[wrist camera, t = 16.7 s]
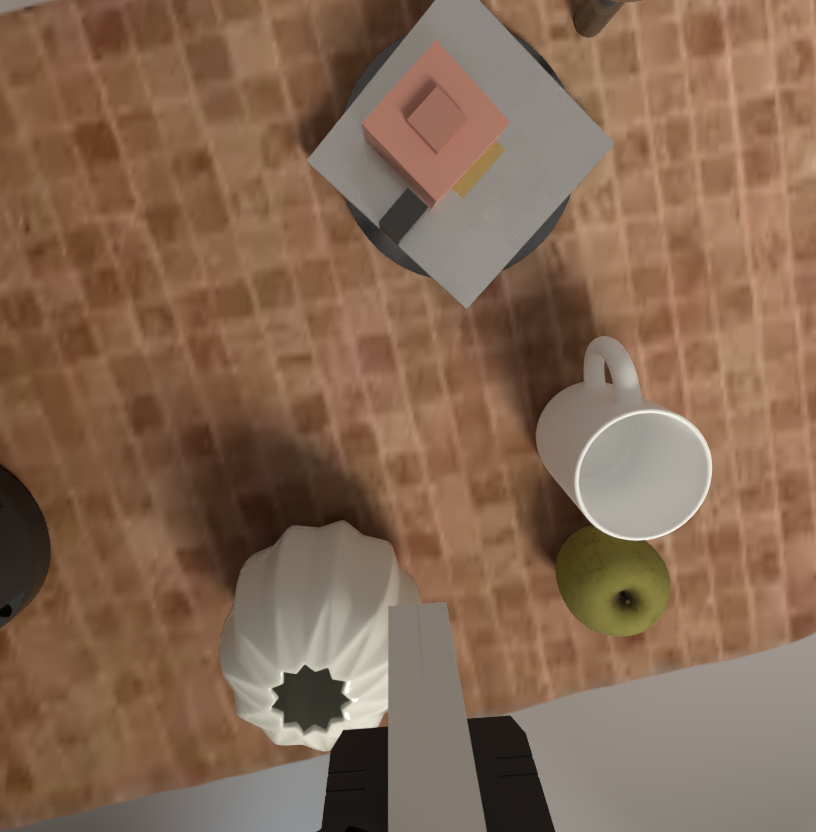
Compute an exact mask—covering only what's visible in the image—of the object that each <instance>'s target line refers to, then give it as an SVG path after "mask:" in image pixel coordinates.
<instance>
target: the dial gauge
mask: <svg viewBox="0 0 816 832" xmlns="http://www.w3.org/2000/svg"><path fill="white" fill-rule="evenodd" d="M635 1H642V0H584V2H583V3H582V5H581V6H580V7H579V9H578V10H577V12H576V14H575V18H574V25H575V28H576V30H577V32H578V33H579V34H580V35H582V36H584V37H593V36H596V35H597V34H598V33H599V32H600V31H601V30H602V29H603V28H604V27H605V25H606V24H607V23H608V22H609V21H610V20H611V18H612V17H613V16H614V15H615V14H616V13H617V11H618V10H619V9H620V8H621V7H622V6H623V5H624V3H625V2H635Z"/></svg>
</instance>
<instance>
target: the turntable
mask: <svg viewBox="0 0 816 832" xmlns="http://www.w3.org/2000/svg"><path fill="white" fill-rule="evenodd" d="M435 40H437V41H438V42H439V43H440V44H441V46H442V47H443V48H444V49H445V50H446V51H447V52H448V53H449V54H450V56H451V57H452V58H453V59H454V60H455V61H456V62H457V63H458V65H459V66H460V67H461V68H462V69H463V70H464V71H465V72H466V73H467V75H468V76H469V77H470V78H471V79H472V80H473V81H474V82H475V83H476V85H477V86H478V87H479V88H480V89H481V90H482V91H483V92H484V94H485V95H486V96H487V97H488V98H489V99H490V100H491V101H492V102H493V104H494V105H495V106H496V107H497V108H498V109H499V110H500V111H501V112H502V114H503V115H504V116H505V117H506V118H507V119H508V120H509V121H510V124H509V125H508V126H507V127H506V129H505V130H504V131H503V132H502V134H501V135H500V136H499V138H498V139H497V140H496V141H495V142H494V143H493V144H492V145H491V146H490V147H489V148H488V149H487V151H486V152H485V153H484V154H483V155H482V156H481V157H480V158H479V159H478V160H477V161H476V162H475V163H474V164H473V166H472V167H471V168H470V169H469V170H468V171H467V172H466V173H465V174H464V175H463V176H462V177H461V178H460V179H459V181H458V182H457V183H456V184H455V185H454V186H453V187H452V188H451V189H450V190H449V191H448V192H447V193H446V194H445V196H444V197H443V198H442V199H441V200H440V201H439V202H438V203H437V204H436V205H435V206H434V207H433V208H432V209H431V208H430V207H429V206H428V205H427V204H426V203H425V202H424V201H423V200H422V199H421V198H420V197H419V196H418V195H417V194H416V192H415V191H414V190H413V189H412V188H411V187H410V186H409V185H408V184H407V183H406V182H405V181H404V180H403V179H402V178H401V177H400V176H399V175H398V174H397V173H396V172H395V171H394V170H393V169H392V168H391V167H390V165H389V164H388V163H387V162H386V161H385V160H384V159H383V158H382V157H381V156H380V155H379V154H378V153H377V152H376V151H375V150H374V149H373V148H372V147H371V146H370V145H369V144H368V143H367V142H366V141H365V139H364V134H363V128H362V123H363V121H364V120H365V119H366V118H367V117H368V116H369V115H370V113H371V112H372V111H373V110H374V109H375V108H376V107H377V106H378V104H379V103H380V102H381V101H382V100H383V99H384V98H385V97H386V95H387V94H388V93H389V92H390V91H391V90H392V89H393V88H394V86H395V85H396V84H397V83H398V82H399V81H400V80H401V79H402V77H403V76H404V75H405V74H406V73H407V72H408V71H409V69H410V68H411V67H412V66H413V65H414V64H415V63H416V62H417V60H418V59H419V58H420V57H421V56H422V55H423V54H424V53H425V51H426V50H427V49H428V48H429V47H430V46H431V45H432V44H433V42H434V41H435ZM614 144H615V143H614V142H613V141H612V140H611V139H610V138H609V137H608V136H607V135H606V134H605V133H604V132H603V131H602V130H601V128H600V127H599V126H598V125H597V124H596V123H595V122H594V121H593V120H592V119H591V118H590V117H589V116H588V115H587V114H586V113H585V112H584V111H583V109H582V108H581V107H580V106H579V105H578V104H577V103H576V102H575V101H574V100H573V99H572V98H571V97H570V96H569V95H568V94H567V93H566V92H565V90H564V89H563V88H562V87H561V86H560V85H559V84H558V83H557V82H556V81H555V80H554V79H553V78H552V77H551V76H550V75H549V74H548V73H547V71H546V70H545V69H544V68H543V67H542V66H541V65H540V64H539V63H538V62H537V61H536V60H535V59H534V58H533V57H532V56H531V55H530V53H529V52H528V51H527V50H526V49H525V48H524V47H523V46H522V45H521V44H520V43H519V42H518V41H517V40H516V39H515V38H514V37H513V36H512V34H511V33H510V32H509V31H508V30H507V29H506V28H505V27H504V26H503V25H502V24H501V23H500V22H499V21H498V20H497V19H496V18H495V17H494V15H493V14H492V13H491V12H490V11H489V10H488V9H487V8H486V7H485V6H484V5H483V4H482V3H481V2H480V1H479V0H435V1H434V2H433V4H432V5H431V6H430V7H429V9H428V10H427V11H426V12H425V14H424V15H423V16H422V17H421V19H420V20H419V21H418V22H417V24H416V25H415V26H414V27H413V29H412V30H411V31H410V32H409V34H408V35H407V36H406V37H405V39H404V40H403V41H402V42H401V44H400V45H399V46H398V47H397V49H396V50H395V51H394V52H393V53H392V55H391V56H390V57H389V58H388V60H387V61H386V62H385V63H384V65H383V66H382V67H381V68H380V70H379V71H378V72H377V73H376V75H375V76H374V77H373V78H372V80H371V81H370V82H369V83H368V85H367V86H366V87H365V88H364V90H363V91H362V92H361V93H360V95H359V96H358V97H357V98H356V100H355V101H354V102H353V103H352V105H351V106H350V107H349V108H348V110H347V111H346V112H345V113H344V115H343V116H342V117H341V118H340V120H339V121H338V122H337V123H336V125H335V126H334V127H333V128H332V130H331V131H330V132H329V133H328V135H327V136H326V137H325V138H324V139H323V141H322V142H321V143H320V144H319V146H318V147H317V148H316V149H315V151H314V152H313V153H312V154H311V156H310V157H309V158H308V159H307V162H308V164H309V165H310V166H311V167H312V168H313V169H315V170H316V171H317V172H318V173H319V174H320V175H321V176H322V177H323V178H324V179H325V180H326V181H328V182H329V183H330V184H331V185H332V186H333V187H334V188H335V189H336V190H337V191H338V192H339V193H340V194H342V195H343V196H344V197H345V198H346V199H347V200H348V201H349V202H350V203H351V204H352V205H353V206H355V207H356V208H357V209H358V210H359V211H360V212H361V213H362V214H363V215H364V216H365V217H366V218H368V219H369V220H370V221H371V222H372V223H373V224H374V225H375V226H376V227H377V228H378V229H379V230H381V231H382V232H383V233H384V234H385V235H386V236H387V237H388V238H389V239H390V240H391V241H392V242H394V243H395V244H396V245H397V246H398V247H399V248H400V249H401V250H402V251H403V252H404V253H405V254H406V255H408V256H409V257H410V258H411V259H412V260H413V261H414V262H415V263H416V264H417V265H418V266H419V267H421V268H422V269H423V270H424V271H425V272H426V273H427V274H428V275H429V276H430V277H431V278H432V279H434V280H435V281H436V282H437V283H438V284H439V285H440V286H441V287H442V288H443V289H444V290H445V291H447V292H448V293H449V294H450V295H451V296H452V297H453V298H454V299H455V300H456V301H457V302H458V303H459V304H461V305H462V306H463V307H464V308H465V309H467V308H468V307H469V306H470V305H471V304H472V303H473V301H474V300H475V299H476V298H477V297H478V296H479V295H480V294H481V293H482V291H483V290H484V289H485V288H486V287H487V286H488V285H489V284H490V283H491V281H492V280H493V279H494V278H495V277H496V276H497V275H498V274H499V272H500V271H501V270H502V269H503V268H504V267H505V266H506V265H507V264H508V262H509V261H510V260H511V259H512V258H513V257H514V256H515V255H516V253H517V252H518V251H519V250H520V249H521V248H522V247H523V246H524V245H525V243H526V242H527V241H528V240H529V239H530V238H531V237H532V236H533V235H534V233H535V232H536V231H537V230H538V229H539V228H540V227H541V226H542V224H543V223H544V222H545V221H546V220H547V219H548V218H549V217H550V216H551V214H552V213H553V212H554V211H555V210H556V209H557V208H558V207H559V205H560V204H561V203H562V202H563V201H564V200H565V199H566V198H567V197H568V195H569V194H570V193H571V192H572V191H573V190H574V189H575V188H576V187H577V185H578V184H579V183H580V182H581V181H582V180H583V179H584V178H585V176H586V175H587V174H588V173H589V172H590V171H591V170H592V169H593V168H594V166H595V165H596V164H597V163H598V162H599V161H600V160H601V159H602V157H603V156H604V155H605V154H606V153H607V152H608V151H609V150H610V149H611V147H612V146H613V145H614Z"/></svg>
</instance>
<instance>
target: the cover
mask: <svg viewBox="0 0 816 832" xmlns="http://www.w3.org/2000/svg"><path fill="white" fill-rule="evenodd" d="M509 124H510V121H509V120H508V119H507V118H506V117H505V116H504V115H503V114H502V112H501V111H500V110H499V109H498V108H497V107H496V106H495V105H494V104H493V102H492V101H491V100H490V99H489V98H488V97H487V96H486V95H485V94H484V92H483V91H482V90H481V89H480V88H479V87H478V86H477V85H476V83H475V82H474V81H473V80H472V79H471V78H470V77H469V76H468V75H467V73H466V72H465V71H464V70H463V69H462V68H461V67H460V66H459V65H458V63H457V62H456V61H455V60H454V59H453V58H452V57H451V56H450V54H449V53H448V52H447V51H446V50H445V49H444V48H443V47H442V46H441V44H440V43H439V42H438V41H437V40H435V41H434V42H433V44H432V45H431V46H430V47H429V48H428V49H427V50H426V51H425V53H424V54H423V55H422V56H421V57H420V58H419V59H418V60H417V62H416V63H415V64H414V65H413V66H412V67H411V68H410V69H409V71H408V72H407V73H406V74H405V75H404V76H403V77H402V79H401V80H400V81H399V82H398V83H397V84H396V85H395V86H394V88H393V89H392V90H391V91H390V92H389V93H388V94H387V95H386V97H385V98H384V99H383V100H382V101H381V102H380V103H379V104H378V106H377V107H376V108H375V109H374V110H373V111H372V112H371V113H370V115H369V116H368V117H367V118H366V119H365V120H364V121H363V123H362V128H363V134H364V139H365V141H366V142H367V143H368V144H369V145H370V146H371V147H372V148H373V149H374V150H375V151H376V152H377V153H378V154H379V155H380V156H381V157H382V158H383V159H384V160H385V161H386V162H387V163H388V164H389V165H390V167H391V168H392V169H393V170H394V171H395V172H396V173H397V174H398V175H399V176H400V177H401V178H402V179H403V180H404V181H405V182H406V183H407V184H408V185H409V186H410V187H411V188H412V189H413V190H414V191H415V192H416V194H417V195H418V196H419V197H420V198H421V199H422V200H423V201H424V202H425V203H426V204H427V205H428V206H429V207H430V208H431V209H432V208H433V207H434V206H435V205H436V204H437V203H438V202H439V201H440V200H441V199H442V198H443V197H444V196H445V194H446V193H447V192H448V191H449V190H450V189H451V188H452V187H453V186H454V185H455V184H456V183H457V182H458V181H459V179H460V178H461V177H462V176H463V175H464V174H465V173H466V172H467V171H468V170H469V169H470V168H471V167H472V166H473V164H474V163H475V162H476V161H477V160H478V159H479V158H480V157H481V156H482V155H483V154H484V153H485V152H486V151H487V149H488V148H489V147H490V146H491V145H492V144H493V143H494V142H495V141H496V140H497V139H498V138H499V136H500V135H501V134H502V132H503V131H504V130H505V129H506V127H507V126H508V125H509Z"/></svg>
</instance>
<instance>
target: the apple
mask: <svg viewBox="0 0 816 832" xmlns="http://www.w3.org/2000/svg"><path fill="white" fill-rule="evenodd" d="M556 578H557V583H558V587H559V590H560V593H561V595H562V597H563V600H564V602H565V603H566V605H567V607H568V609H569V610H570V611H571V613H572V614H573V615H574V616H575V617H576V618H577V619H578V620H579V621H580V622H581V623H582V624H584V625H585V626H586V627H588V628H590V629H592V630H594V631H596V632H599V633H602V634H606V635H610V636H631V635H635V634H639V633H641V632H643V631H645V630H646V629H648V628H649V627H651V626H652V625H653V624H654V623H655V622H656V621H657V620H658V619H659V617H660V616H661V615H662V613H663V611H664V609H665V607H666V605H667V602H668V599H669V594H670V577H669V573H668V570H667V568H666V565H665V563H664V561H663V560H662V558H661V557H660V555H659V554H658V553H657V551H656V550H655V549H654V548H653V547H652V546H651V545H650V544H649V543H648V542H646V541H645V540H638V541H636V540H625V539H620V538H616V537H613V536H610V535H608V534H606V533H604V532H602V531H601V530H599V529H598V528H596V527H595V526H594V525H589V526H586V527H583V528H581V529H579V530H577V531H576V532H574V533H573V534H572V535H570V536H569V537H568V538H567V540H566V541H565V542H564V544H563V545H562V547H561V549H560V551H559V554H558V557H557V561H556Z"/></svg>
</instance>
